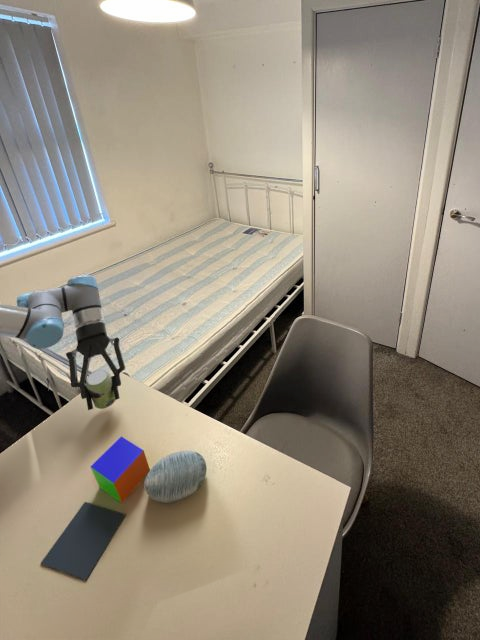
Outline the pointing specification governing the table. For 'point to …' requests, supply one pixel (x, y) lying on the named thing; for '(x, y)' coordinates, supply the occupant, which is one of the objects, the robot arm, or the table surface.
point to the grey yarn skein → (175, 476)
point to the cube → (121, 469)
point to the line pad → (84, 541)
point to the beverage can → (101, 388)
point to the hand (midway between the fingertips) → (104, 404)
